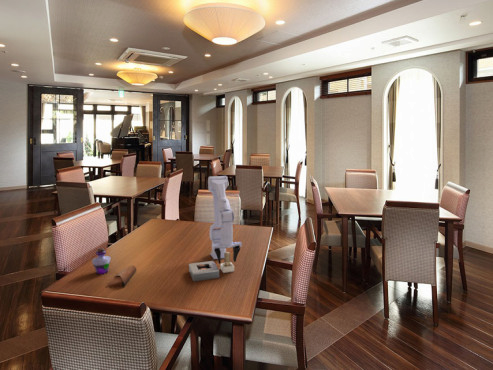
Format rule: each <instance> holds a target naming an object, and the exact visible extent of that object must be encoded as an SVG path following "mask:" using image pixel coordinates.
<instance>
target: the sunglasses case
mask: <svg viewBox="0 0 493 370" xmlns="http://www.w3.org/2000/svg"><path fill="white" fill-rule="evenodd" d="M136 272H137V267H136V266H135V265H133V264H131V265H130V266H127V267H124V268H123V269H122V270H120V271H119V272H116V274H115V275H114V277H113V278H112V279H111V280H110V281H109V282H108V283H107V285H106V288H107V287H109V288H112V287H113V288H123V289H124V287H126V285H127V284H128V282H129V281H130V280H131V278H132V277H133V276H134V274H135V273H136Z"/></svg>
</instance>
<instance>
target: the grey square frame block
mask: <svg viewBox="0 0 493 370" xmlns="http://www.w3.org/2000/svg"><path fill="white" fill-rule="evenodd" d="M202 268H206V269H202ZM200 269H201V270H200ZM188 270H189V271H188V272H189V274H190V277H191V279H192V281H193V282H199V281H200V282H201V281H206V280H214V279H220V269H219V267H218V266H217V264H216V263H215V261H214V260H210V261H201V262H192V263H188Z"/></svg>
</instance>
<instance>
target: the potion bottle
mask: <svg viewBox="0 0 493 370" xmlns="http://www.w3.org/2000/svg"><path fill="white" fill-rule="evenodd" d="M96 250H97V251H96V252H95V255H96V256H97V257H93V258H92V259H91V263H92V266H93V267H94V269H95V273H97V274H96V275H98V274H102V275H105V274H104V273H106V274H108V273H109V267H110V264H111V259H112V258H111V256H108V255H106V254H107V251H106V249H105V248H104V247H99V248H97V249H96ZM107 272H108V273H107Z"/></svg>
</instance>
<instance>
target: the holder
mask: <svg viewBox="0 0 493 370" xmlns="http://www.w3.org/2000/svg"><path fill="white" fill-rule="evenodd" d="M219 268H220V269H219V270H221V272H222V274H225V273H233V272H235V265H234V264H233V262H231V261H230V266H227V267H224V262H221V264H220V265H219Z"/></svg>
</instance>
